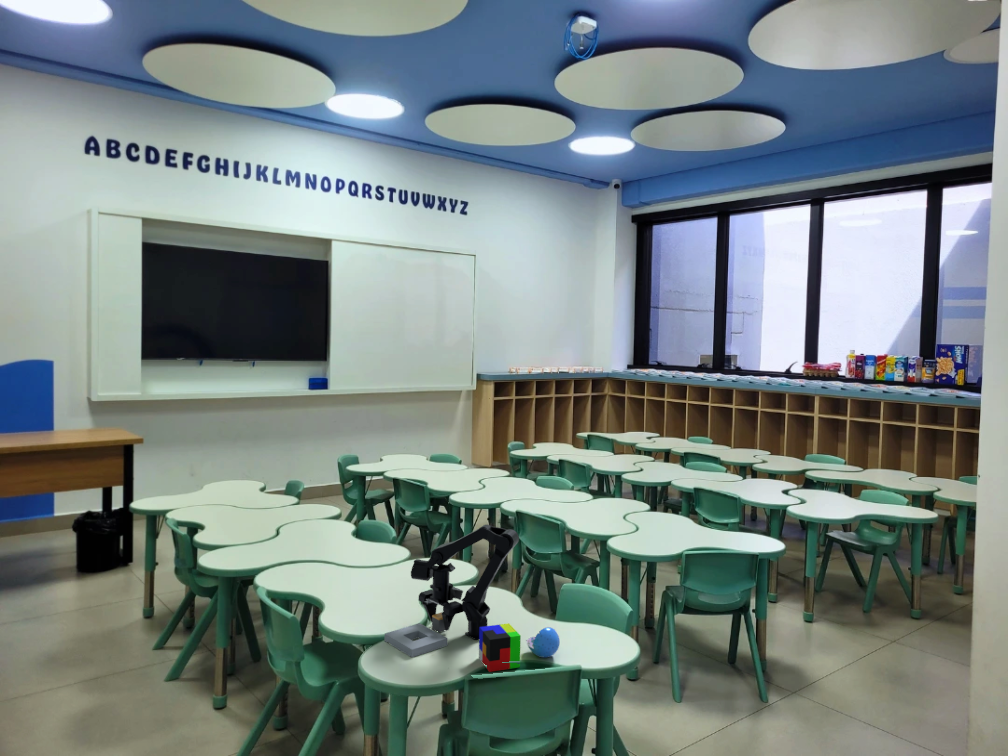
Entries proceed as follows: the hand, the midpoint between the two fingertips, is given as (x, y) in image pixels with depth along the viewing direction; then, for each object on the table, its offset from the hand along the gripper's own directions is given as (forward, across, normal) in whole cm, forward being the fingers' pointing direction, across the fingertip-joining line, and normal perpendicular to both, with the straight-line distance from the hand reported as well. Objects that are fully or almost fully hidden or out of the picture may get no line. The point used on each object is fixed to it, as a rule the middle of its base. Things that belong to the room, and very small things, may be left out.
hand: (440, 626), depth 244 cm
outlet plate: (+1, -4, +13) cm, 14 cm away
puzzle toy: (+1, -32, +1) cm, 32 cm away
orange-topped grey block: (+1, 0, 0) cm, 1 cm away
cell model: (+1, -37, -13) cm, 39 cm away
